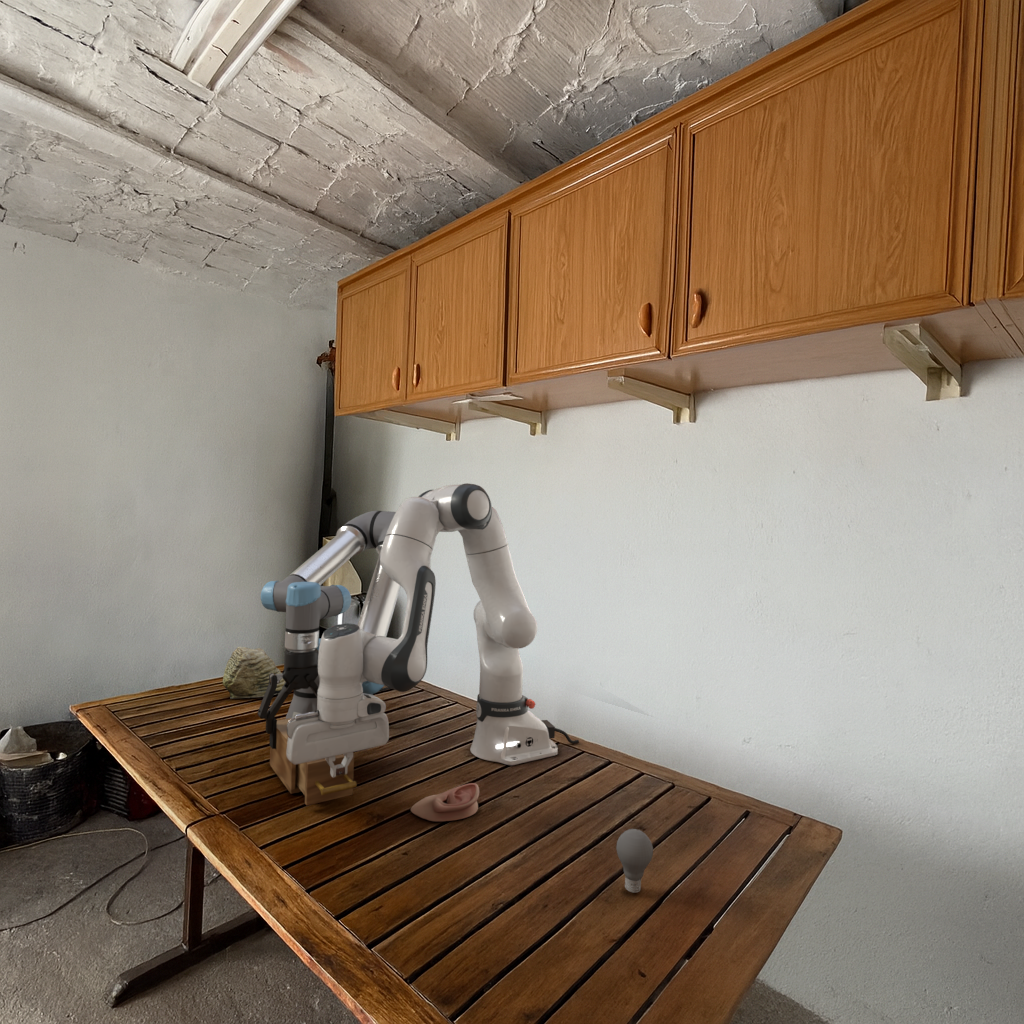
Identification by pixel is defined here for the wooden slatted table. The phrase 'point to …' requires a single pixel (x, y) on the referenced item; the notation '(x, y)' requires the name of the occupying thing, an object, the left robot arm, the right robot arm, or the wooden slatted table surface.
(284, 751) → the cabinet
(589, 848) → the wooden slatted table surface
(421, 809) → the anatomical model
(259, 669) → the fossil
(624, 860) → the light bulb
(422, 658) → the right robot arm
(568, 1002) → the wooden slatted table surface
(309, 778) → the drawer
